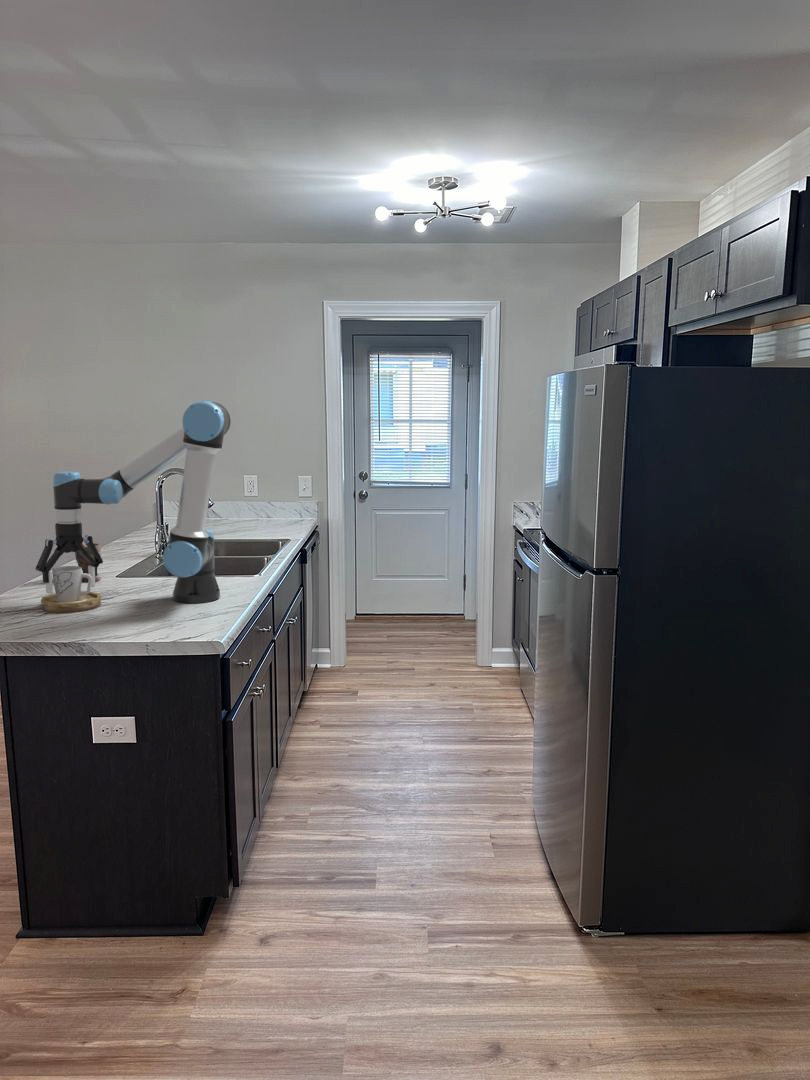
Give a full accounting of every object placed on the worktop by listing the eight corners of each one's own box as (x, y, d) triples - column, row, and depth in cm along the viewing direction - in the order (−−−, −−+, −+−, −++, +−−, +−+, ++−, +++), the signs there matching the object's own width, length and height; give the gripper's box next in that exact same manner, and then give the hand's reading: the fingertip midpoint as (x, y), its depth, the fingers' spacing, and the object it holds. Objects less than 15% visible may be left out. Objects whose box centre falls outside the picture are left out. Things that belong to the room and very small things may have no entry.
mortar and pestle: (89, 585, 268) (87, 529, 265) (66, 584, 269) (64, 528, 266) (106, 578, 279) (104, 524, 276) (84, 577, 280) (82, 523, 277)
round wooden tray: (111, 606, 239) (111, 597, 239) (57, 615, 226) (57, 606, 226) (84, 597, 250) (84, 588, 250) (32, 605, 237) (31, 597, 237)
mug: (95, 596, 243) (94, 565, 242) (90, 602, 235) (89, 570, 234) (56, 597, 241) (55, 566, 239) (50, 603, 233) (49, 571, 231)
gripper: (100, 517, 246) (102, 582, 249) (21, 524, 227) (24, 593, 230) (112, 520, 241) (114, 585, 245) (32, 527, 222) (36, 598, 226)
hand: (71, 589), depth 237 cm, fingers open, 13 cm apart
